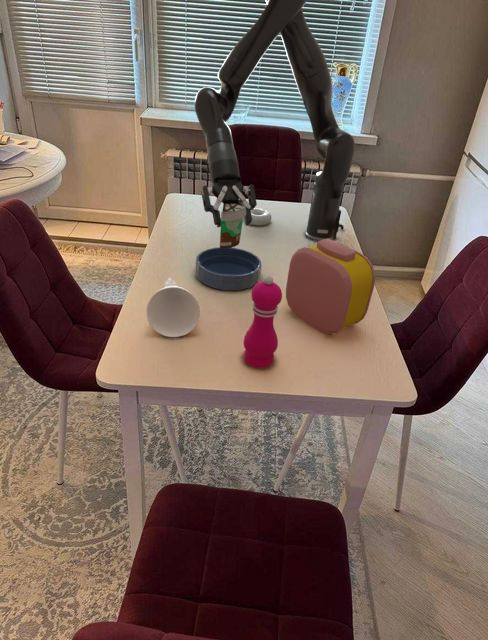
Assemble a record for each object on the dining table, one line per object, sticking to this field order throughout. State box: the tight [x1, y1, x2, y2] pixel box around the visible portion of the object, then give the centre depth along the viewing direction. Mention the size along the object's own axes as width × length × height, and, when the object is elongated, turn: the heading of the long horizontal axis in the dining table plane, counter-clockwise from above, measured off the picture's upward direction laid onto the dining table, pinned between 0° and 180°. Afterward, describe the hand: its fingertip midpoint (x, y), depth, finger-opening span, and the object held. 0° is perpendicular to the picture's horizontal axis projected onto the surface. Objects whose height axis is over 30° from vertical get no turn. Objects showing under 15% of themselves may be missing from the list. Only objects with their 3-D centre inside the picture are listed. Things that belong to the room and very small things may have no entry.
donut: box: [243, 207, 272, 226], centre depth 169 cm, size 10×4×10 cm
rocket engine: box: [146, 277, 201, 338], centre depth 115 cm, size 12×12×18 cm
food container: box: [219, 199, 246, 248], centre depth 127 cm, size 12×6×10 cm, turn 179°
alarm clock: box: [285, 239, 376, 335], centre depth 116 cm, size 18×11×19 cm, turn 41°
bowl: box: [195, 246, 263, 291], centre depth 134 cm, size 18×18×4 cm
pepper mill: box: [243, 275, 283, 369], centre depth 100 cm, size 7×7×20 cm
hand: (234, 225), depth 126 cm, fingers closed on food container, 7 cm apart
